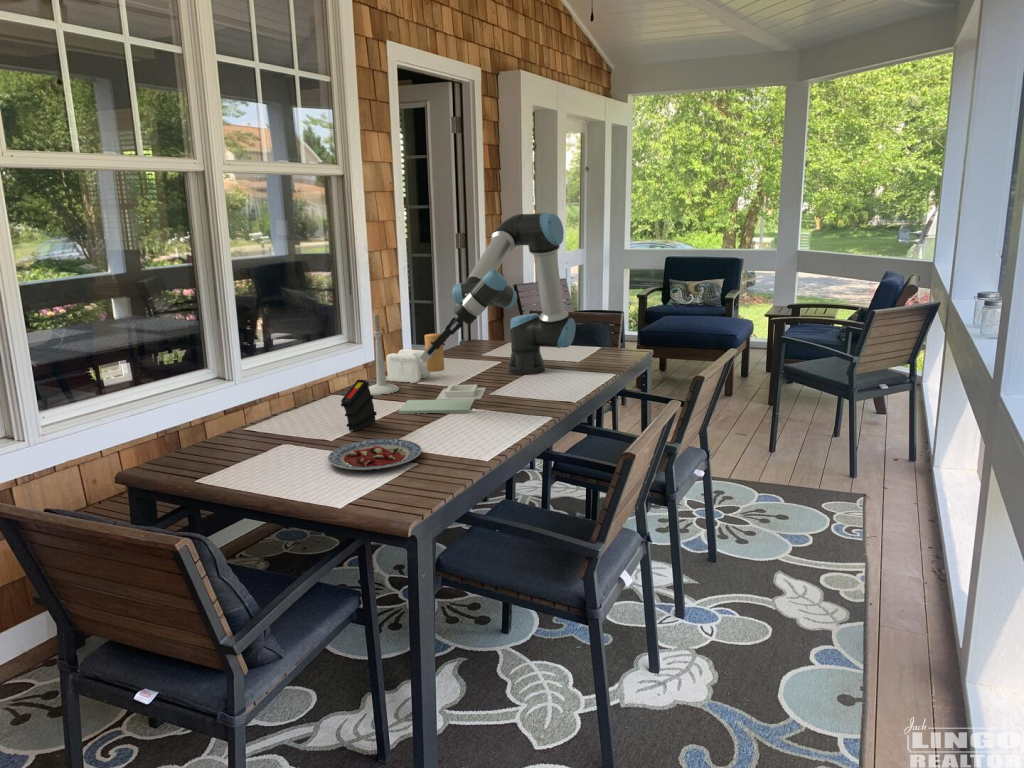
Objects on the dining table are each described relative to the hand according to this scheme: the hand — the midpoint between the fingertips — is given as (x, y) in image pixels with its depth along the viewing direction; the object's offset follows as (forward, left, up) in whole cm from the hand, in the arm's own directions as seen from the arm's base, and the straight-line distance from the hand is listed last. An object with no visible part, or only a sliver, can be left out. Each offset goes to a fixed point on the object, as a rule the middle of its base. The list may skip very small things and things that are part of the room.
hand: (424, 358), depth 261 cm
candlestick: (+22, -25, -18) cm, 38 cm away
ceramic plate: (+4, +54, -18) cm, 57 cm away
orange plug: (-4, 0, -4) cm, 6 cm away
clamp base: (-10, -15, -17) cm, 25 cm away
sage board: (-4, +1, -17) cm, 18 cm away
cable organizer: (+15, -42, -18) cm, 48 cm away
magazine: (+17, +23, -18) cm, 34 cm away
